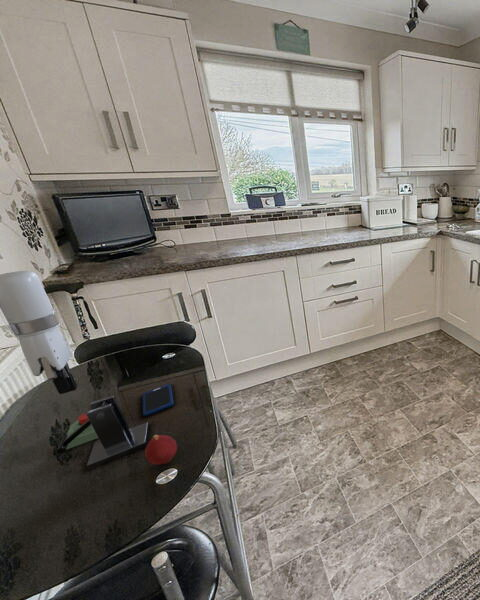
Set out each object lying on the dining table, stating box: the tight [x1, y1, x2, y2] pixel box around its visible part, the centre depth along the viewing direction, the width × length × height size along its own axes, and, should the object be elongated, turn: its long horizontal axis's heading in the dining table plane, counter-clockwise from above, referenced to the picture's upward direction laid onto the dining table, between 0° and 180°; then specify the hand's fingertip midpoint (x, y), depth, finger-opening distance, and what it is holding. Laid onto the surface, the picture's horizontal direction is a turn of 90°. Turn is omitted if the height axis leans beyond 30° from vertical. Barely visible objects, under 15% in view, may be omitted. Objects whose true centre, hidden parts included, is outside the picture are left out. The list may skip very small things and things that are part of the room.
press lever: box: [55, 401, 114, 455], centre depth 76 cm, size 12×5×2 cm
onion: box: [144, 434, 178, 466], centre depth 73 cm, size 6×6×8 cm
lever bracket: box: [85, 395, 150, 470], centre depth 79 cm, size 11×9×13 cm
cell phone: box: [142, 383, 175, 417], centre depth 98 cm, size 7×14×1 cm, turn 38°
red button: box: [77, 412, 88, 425], centre depth 86 cm, size 4×4×2 cm
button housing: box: [66, 419, 99, 450], centre depth 87 cm, size 10×8×4 cm
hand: (68, 390), depth 82 cm, fingers closed
